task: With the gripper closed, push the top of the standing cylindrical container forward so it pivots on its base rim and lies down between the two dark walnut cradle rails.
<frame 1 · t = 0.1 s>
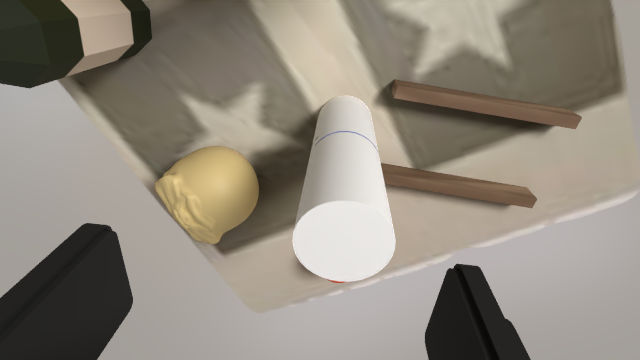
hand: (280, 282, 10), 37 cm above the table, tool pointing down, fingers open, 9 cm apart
cylindrical container: (344, 121, 46), on the table
pale yellow lumpy blob: (224, 173, 51), on the table
wine bottle: (119, 18, 42), on the table
cradle rails: (462, 142, 46), on the table
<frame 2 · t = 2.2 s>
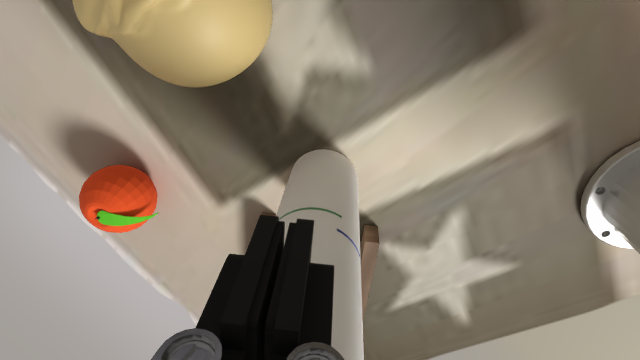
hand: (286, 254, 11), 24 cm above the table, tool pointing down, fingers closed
clementine: (144, 182, 39), on the table
cylindrical container: (324, 179, 37), on the table
cradle rails: (312, 289, 44), on the table
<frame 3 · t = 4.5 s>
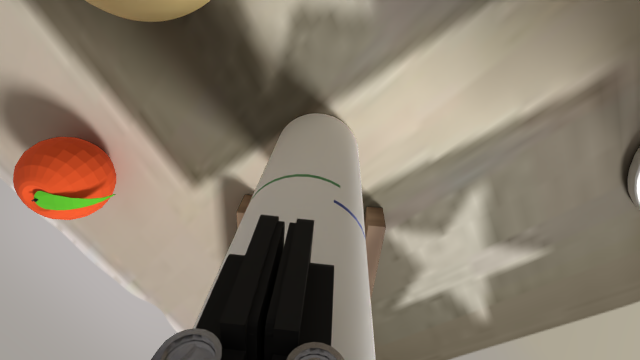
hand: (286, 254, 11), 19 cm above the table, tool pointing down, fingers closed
clementine: (101, 160, 32), on the table
cylindrical container: (317, 151, 30), on the table, touching gripper
cradle rails: (306, 285, 38), on the table
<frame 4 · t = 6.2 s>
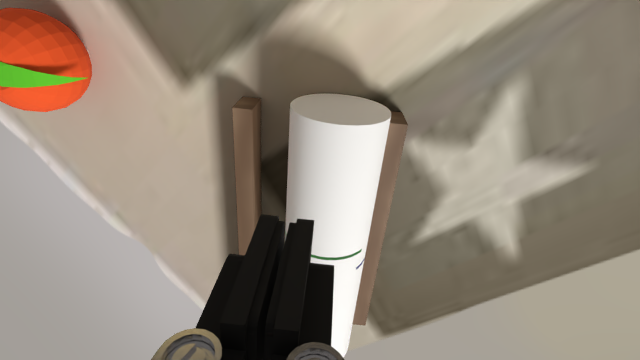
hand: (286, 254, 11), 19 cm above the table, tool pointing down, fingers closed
clementine: (76, 55, 28), on the table
cylindrical container: (341, 104, 24), point 4 cm above the table
cradle rails: (312, 215, 33), on the table
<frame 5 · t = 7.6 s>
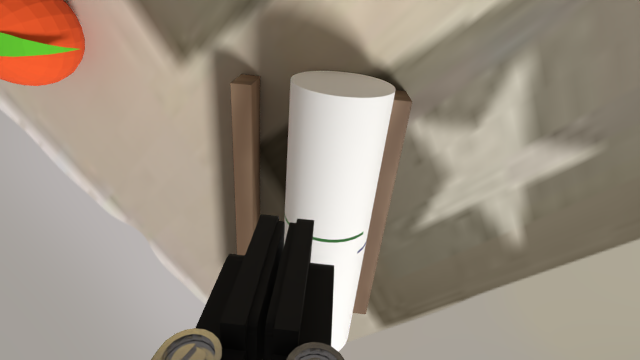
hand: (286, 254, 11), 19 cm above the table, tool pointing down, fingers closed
clementine: (69, 29, 27), on the table
cylindrical container: (343, 79, 24), point 4 cm above the table
cradle rails: (312, 200, 33), on the table
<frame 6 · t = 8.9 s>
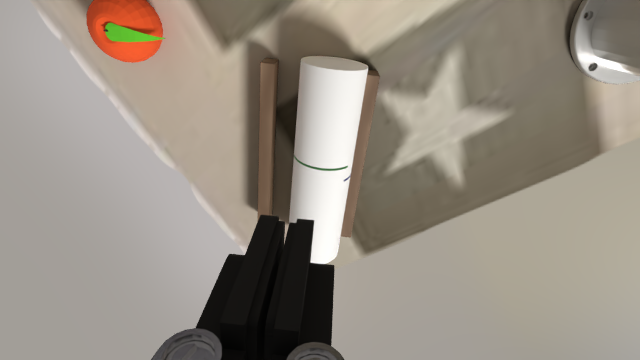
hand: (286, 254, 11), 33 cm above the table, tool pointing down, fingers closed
clementine: (148, 25, 39), on the table
cylindrical container: (334, 60, 36), point 4 cm above the table
cradle rails: (312, 151, 45), on the table
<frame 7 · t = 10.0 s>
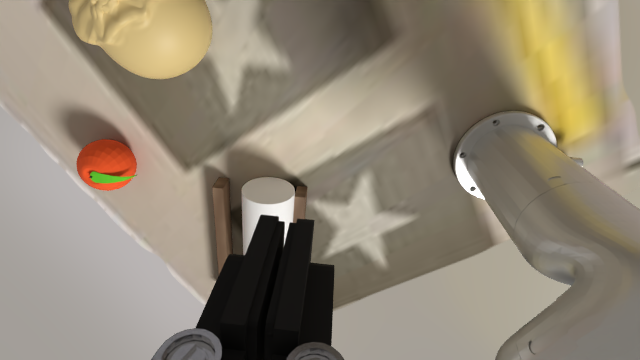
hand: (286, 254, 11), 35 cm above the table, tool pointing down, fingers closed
clementine: (126, 154, 50), on the table
cylindrical container: (268, 188, 47), point 4 cm above the table
pale yellow lumpy blob: (172, 16, 41), on the table
cradle rails: (262, 241, 56), on the table
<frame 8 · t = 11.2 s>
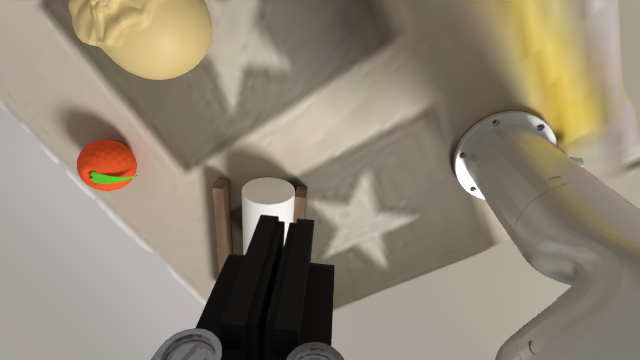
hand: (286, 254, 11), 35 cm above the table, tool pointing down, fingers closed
clementine: (126, 154, 50), on the table
cylindrical container: (268, 188, 47), point 4 cm above the table
pale yellow lumpy blob: (172, 16, 41), on the table
cradle rails: (262, 241, 56), on the table
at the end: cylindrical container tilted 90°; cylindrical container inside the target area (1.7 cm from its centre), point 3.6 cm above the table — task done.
